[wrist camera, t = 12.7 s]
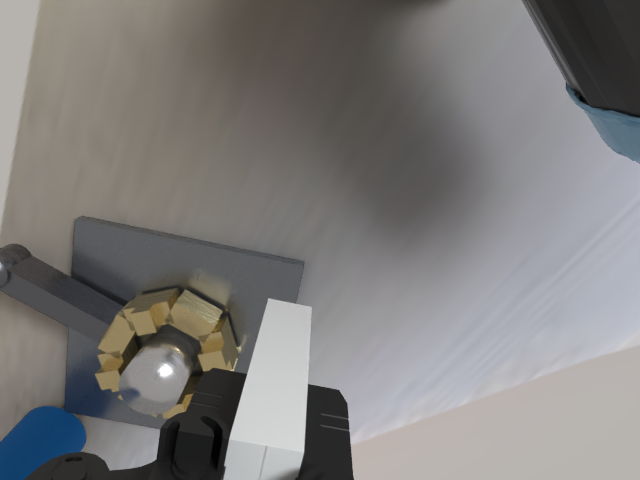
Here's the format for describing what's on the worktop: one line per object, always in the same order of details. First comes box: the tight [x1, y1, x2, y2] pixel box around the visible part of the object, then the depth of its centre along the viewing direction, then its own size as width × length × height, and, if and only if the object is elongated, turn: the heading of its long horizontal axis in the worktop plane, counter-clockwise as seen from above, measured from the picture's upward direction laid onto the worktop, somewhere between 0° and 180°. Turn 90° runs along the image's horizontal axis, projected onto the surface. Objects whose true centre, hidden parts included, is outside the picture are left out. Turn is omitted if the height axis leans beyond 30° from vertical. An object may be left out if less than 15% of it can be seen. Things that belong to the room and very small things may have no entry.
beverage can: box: [0, 406, 86, 480], centre depth 40 cm, size 6×6×12 cm
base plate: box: [64, 216, 304, 429], centre depth 39 cm, size 20×20×8 cm
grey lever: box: [0, 244, 238, 419], centre depth 38 cm, size 22×11×4 cm, turn 57°
